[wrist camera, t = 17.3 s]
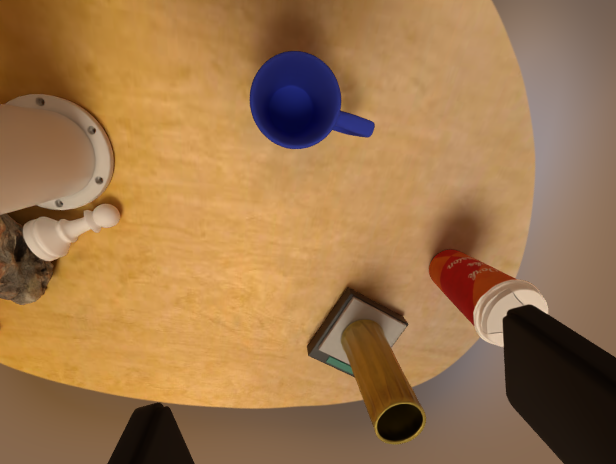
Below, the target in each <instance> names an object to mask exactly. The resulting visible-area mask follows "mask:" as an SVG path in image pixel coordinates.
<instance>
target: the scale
mask: <svg viewBox="0 0 616 464" xmlns="http://www.w3.org/2000/svg"><path fill="white" fill-rule="evenodd" d="M363 319H366V320H372V321H375V322H376V323H378V324H379V325H380V326H381V327H382V329H383V331H384V335H385V337H386V339H387V341H388V343H389V345H390V347H392V346H393V345H394V343H395V342H396V341H397V339H398V338H399V336H400V335H401V334H402V332H403V331H404V330H405V328H406V327H407V326H408V323H407V321H406V320H405V319H404V317H402V316H401V315H399V314H397V313H395V312H393V311H391V310H389V309H388V308H386V307H384V306H382V305H380V304H378V303H376V302H375V301H373V300H371V299H369V298H367V297H365V296H363V295H362V294H360V293H358V292H356V291H354V290H352V289H350V288H349V287H347V289H346V290H345V292H344V293H343V295H342V296H341V298H340V299H339V301H338V302H337V304H336V305H335V307H334V308H333V310H332V311H331V313H330V314H329V316H328V317H327V318H326V320H325V321H324V323H323V324H322V326H321V327H320V329H319V330H318V332H317V333H316V335H315V336H314V338H313V339H312V341H311V342H310V344H309V345H308V347H307V350H308V356H310V357H312V358H314V359H317V360H319V361H321V362H323V363H325V364H327V365H329V366H332V367H334V368H336V369H338V370H340V371H342V372H345V373H347V374H349V375H351V376H353V377H355V376H354V374H353V371H352V368H351V366H350V363H349V360H348V358H347V355H346V353H345V351H344V350H343V348H342V345H341V337H342V334H343V332H344V330H345V329H346V328H347V327H348V326H349V325H350V324H351V323H353V322H355V321H358V320H363Z"/></svg>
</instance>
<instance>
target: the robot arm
mask: <svg viewBox="0 0 616 464" xmlns="http://www.w3.org/2000/svg"><path fill="white" fill-rule="evenodd" d="M44 102H45V104H44ZM94 128H95V129H96V133H95V132H94ZM113 168H114V157H113V150H112V147H111V144H110V141H109V139H108V137H107V135H106V133H105V131H104V129H103V128H102V127H101V125H100V124H99V123H98V122H97V120H96V119H95V118H94V117H93V116H92V115H91V114H89V113H88V112H87V111H86V110H84V109H83V108H81V107H80V106H78V105H77V104H75V103H73V102H71V101H68V100H66V99H63V98H60V97H56V96H51V95H45V94H29V95H24V96H20V97H17V98H15V99H13V100H10V101H8V102H7V103H6V104H5V105H4V104H0V215H2V214H5V213H9V212H13V211H16V210H20V209H23V208H27V207H30V206H34V205H37V206H39V207H43V208H47V209H52V210H68V209H75V208H78V207H81V206H84V205H86V204H88V203H91V202H92V201H94V200H95V199H97V198H98V197H99V196H100V195H101V194H102V193H103V192H104V191H105V190H106V188H107V186H108V185H109V183H110V181H111V178H112V174H113ZM101 178H102V179H103V181H102V180H101ZM62 202H63V203H62ZM502 323H503V342H504V362H505V381H506V395H507V397H508V400H509V402H510V403H511V405H512V406H513V408H514V409H515V410H516V411H517V412H518V413H519V414H520V415H521V416H522V417H523V419H524V420H525V421H526V422H527V423H528V424H529V425H530V426H531V428H532V429H533V430H534V431H535V432H536V433H537V434H538V435H539V436H540V438H541V439H542V440H543V441H544V442H545V443H546V444H547V445H548V446H549V448H550V449H551V450H552V451H553V452H554V453H555V454H556V455H557V456H558V458H559V459H560V460H561V461H562V462H563V463H564V464H616V358H615V357H614V356H612V355H611V354H609V353H608V352H606V351H604V350H603V349H601V348H600V347H598V346H597V345H595V344H594V343H592V342H590V341H589V340H587V339H586V338H584V337H582V336H581V335H579V334H578V333H576V332H574V331H573V330H571V329H570V328H568V327H567V326H565V325H563V324H562V323H561V322H559V321H557V320H556V319H554V318H553V317H551V316H550V315H548V314H546V313H545V312H543V311H542V310H540V309H539V308H537V307H535V306H533V305H530V304H528V305H524V306H520V307H516V308H513V309H510V310H508V311H507V314H506V316H505V317H503V321H502ZM108 464H194V461H193V459H192V457H191V455H190V452H189V450H188V448H187V446H186V443H185V441H184V439H183V437H182V434H181V432H180V430H179V428H178V425H177V423H176V421H175V419H174V416H173V414H172V412H171V410H170V408H169V407H167V406H166V407H164V406H163V405H162V404H161V403H154V404H151V405H147V406H143V407H139V408H137V409H135V411H134V412H133V414H132V416H131V418H130V420H129V422H128V424H127V426H126V428H125V430H124V432H123V434H122V436H121V438H120V440H119V442H118V444H117V446H116V448H115V450H114V452H113V454H112V456H111V458H110V460H109V462H108Z"/></svg>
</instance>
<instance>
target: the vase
mask: <svg viewBox="0 0 616 464" xmlns="http://www.w3.org/2000/svg"><path fill="white" fill-rule="evenodd" d="M341 345H342V348H343V350H344V351H345V353H346V355H347V358H348V360H349V363H350V366H351V368H352V371H353V374H354V376H355V378H356V381H357V384H358V386H359V389H360V392H361V394H362V397H363V400H364V402H365V405H366V408H367V411H368V413H369V416H370V419H371V421H372V424H373V427H374V429H375V433H376V435H377V437H378V438H379V439H380V440H381V441H383V442H385V443H389V444H401V443H406V442H408V441H411V440H412V439H414V438H415V437H417V436H418V435H419V434H420V433H421V432H422V430H423V428H424V426H425V423H426V415H425V412H424V410H423V408H422V406H421V405H420V403H419V401H418V400H417V397H416V395H415V393H414V391H413V390H412V388H411V386H410V384H409V382H408V381H407V379H406V377H405V375H404V373H403V371H402V369H401V367H400V365H399V363H398V361H397V360H396V357H395V355H394V353H393V351H392V349H391V347H390V345H389V343H388V341H387V339H386V337H385V335H384V331H383V329H382V327H381V326H380V325H379V324H378V323H376V322H375V321H372V320H366V319H363V320H358V321H355V322H353V323H351V324H350V325H349V326H348V327H347V328H346V329H345V330H344V332H343V334H342V337H341Z"/></svg>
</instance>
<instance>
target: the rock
mask: <svg viewBox="0 0 616 464" xmlns="http://www.w3.org/2000/svg"><path fill="white" fill-rule="evenodd" d="M23 227H24V226H23V225H21V224H18V223H16V222H15V221H14V219H13V218H11V217H10V216H9V215H8V214H6V213H5V214H2V215H0V298H2V299H6V300H12V301H13V302H15V303H17V304H20V305H25V304H28V303H32V302H35V301H37V300H38V299H39V298H40V297H41V296H42V295H44V293H45V288H46V286H47V285H48V282H49V280H50V279H51V277H52V274H53V272H52V269H53V264H51V261H45V260H43V259H40V258H39V257H37V256H36V255H35V254H34V253H33V252H32V251H31V250H30V248H29V247H28V245H27V244H26V242H25V239H24V237H23Z"/></svg>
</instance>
